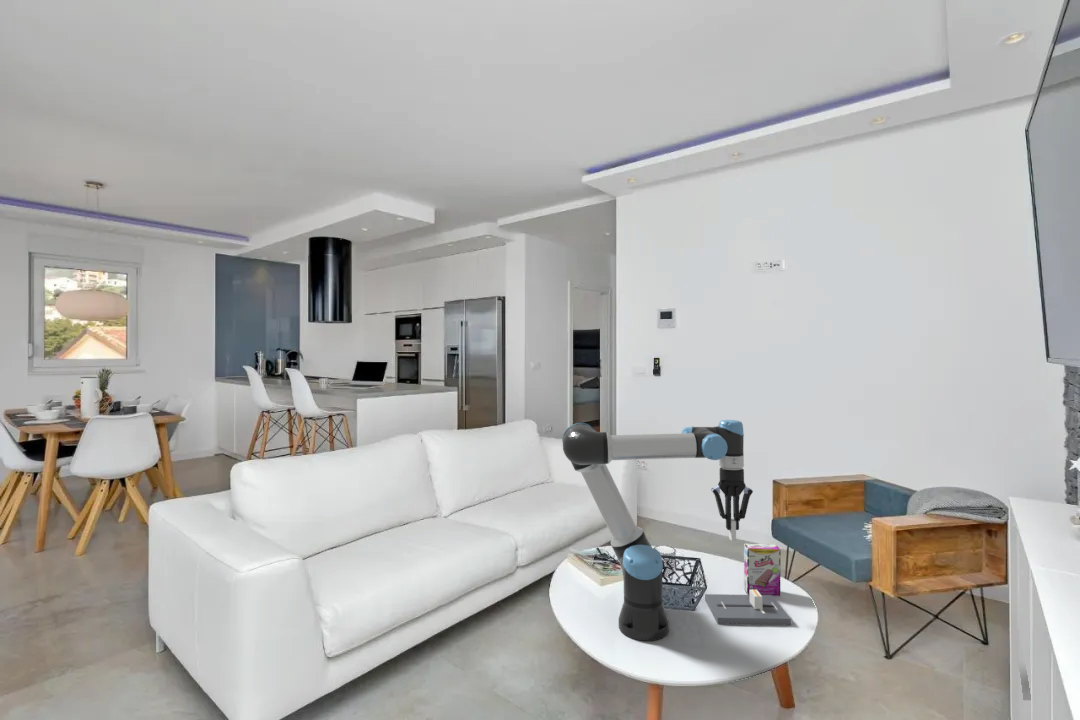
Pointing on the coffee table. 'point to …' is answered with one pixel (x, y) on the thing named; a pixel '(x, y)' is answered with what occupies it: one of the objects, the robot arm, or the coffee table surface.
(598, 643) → the coffee table surface
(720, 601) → the console
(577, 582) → the coffee table surface
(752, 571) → the candy bar box
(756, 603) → the fader cap
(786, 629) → the coffee table surface
